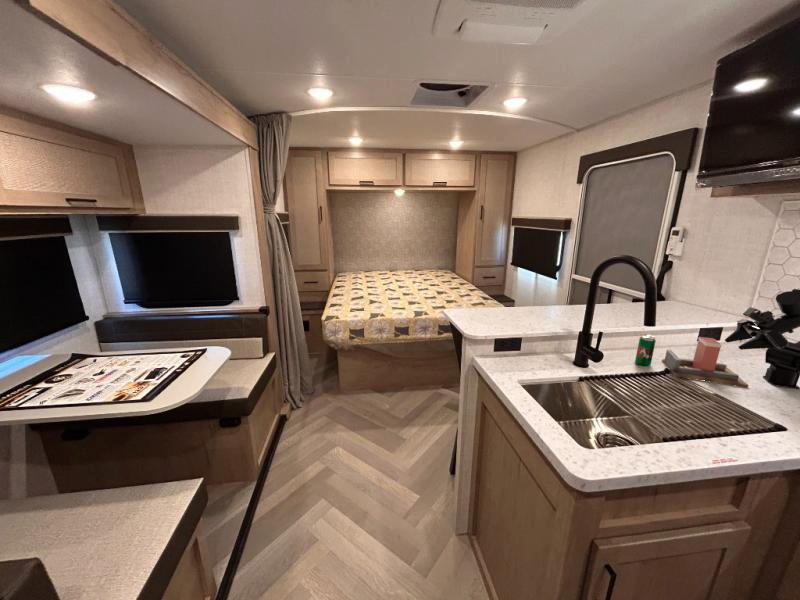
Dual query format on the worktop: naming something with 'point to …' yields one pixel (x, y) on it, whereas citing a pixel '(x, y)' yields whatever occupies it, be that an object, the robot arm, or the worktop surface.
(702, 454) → the worktop surface
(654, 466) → the worktop surface
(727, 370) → the board
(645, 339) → the soda can
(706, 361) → the red plug
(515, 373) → the worktop surface
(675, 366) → the guide rails
